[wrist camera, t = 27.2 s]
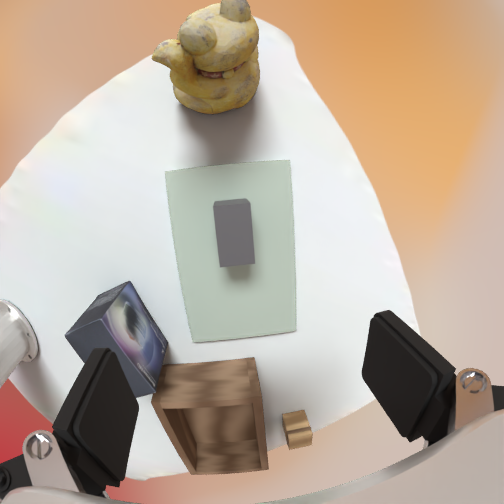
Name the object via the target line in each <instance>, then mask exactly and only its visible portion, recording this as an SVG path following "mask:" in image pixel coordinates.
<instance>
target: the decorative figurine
mask: <svg viewBox="0 0 504 504" xmlns="http://www.w3.org/2000/svg"><path fill="white" fill-rule="evenodd" d="M258 40H259V29H258V26H257V24H256V21H255V19H254V18H253V16H252V15H251V11H250V6H249V4H248V2H247V0H222V1H221V3H218V4H212V5H209V6H208V7H206V8H203V9H200V10H197V11H196V12H194V13H193V14H190V15H189V16H188V17H187V19H186V21H185V22H184V23H183V24H182V25H181V27H180V30H179V32H178V35H177V40H175V39H172V40H171V39H170V40H165V41H163V42H162V43H161V44H159V45H158V47H157V48H156V50H155V51H154V53H153V56H152V60H153V61H156V62H159V63H161V64H163V65H165V66H167V67H169V68H170V69H171V71H170V78H171V81H172V83H173V90H174V94H175V96H176V99H177V100H178V101H179V102H180V103H181V104H183V105H184V106H186V107H188V108H190V109H192V110H195V111H197V112H200V113H205V114H217V113H221V112H225V111H228V110H231V109H234V108H240V107H243V106H244V105H246V104H247V103H248V102H249V101H250V100H251V99H252V97H253V96H254V94H255V92H256V90H257V87H258V84H259V80H260V69H259V63H258V47H257V44H258Z"/></svg>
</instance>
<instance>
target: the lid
mask: <svg viewBox="0 0 504 504" xmlns="http://www.w3.org/2000/svg"><path fill="white" fill-rule="evenodd" d="M165 178H166V187H167V196H168V205H169V213H170V220H171V227H172V234H173V241H174V248H175V254H176V260H177V266H178V272H179V278H180V283H181V288H182V294H183V299H184V304H185V309H186V314H187V318H188V323H189V328H190V332H191V337H192V341H193V342H206V341H218V340H228V339H238V338H247V337H255V336H263V335H271V334H278V333H285V332H291V331H296V277H295V243H294V220H293V200H292V183H291V168H290V160H276V161H259V162H245V163H233V164H223V165H213V166H204V167H196V168H188V169H180V170H173V171H166V172H165Z"/></svg>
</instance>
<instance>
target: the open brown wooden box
mask: <svg viewBox="0 0 504 504" xmlns="http://www.w3.org/2000/svg"><path fill="white" fill-rule="evenodd" d="M151 403H152V406H153V408H154V410H155V412H156V414H157V416H158V418H159V420H160V422H161V424H162V426H163V427H164V429H165V431H166V433H167V435H168V437H169V439H170V440H171V442H172V444H173V446H174V447H175V449H176V451H177V453H178V454H179V456H180V458H181V459H182V461H183V462H184V464H185V466H186V467H187V469H188V470H189V472H190V474H192V475H195V474H197V475H202V474H228V473H242V472H252V471H260V470H267V469H269V468H268V457H267V446H266V436H265V425H264V415H263V404H262V395H261V390H260V384H259V379H258V374H257V369H256V364H255V358H254V357H252V358H244V359H235V360H226V361H215V362H202V363H187V364H165V365H162V368H161V372H160V376H159V380H158V384H157V389H156V393H153V396H152V401H151Z"/></svg>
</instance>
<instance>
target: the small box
mask: <svg viewBox="0 0 504 504" xmlns="http://www.w3.org/2000/svg"><path fill="white" fill-rule="evenodd" d="M65 337H66V339H67V340H68V342H69V343H70V344H71V346H72V347H73V349H74V350H75V351H76V353H77V354H78V355H79V357H80V358H81V359H82V361H83V362H84V363H86V361H87V359H88V357H89V356H90V354H91V352H92V350H93V349H94V348H110V349H111V351H112V352H115V353H116V355H117V358H118V360H119V362H120V365H121V367H122V369H123V372H124V374H125V376H126V379H127V381H128V383H129V385H130V387H131V389H132V391H133V394H134V396H135V398H137V397H141V396H145V395H149V394H153V393H156V389H157V384H158V380H159V376H160V372H161V368H162V363H163V360H164V356H165V352H166V348H167V344H168V342H167V340H166V339H165V337H164V336H163V334H162V333H161V331H160V329H159V328H158V326H157V325H156V323H155V322H154V320H153V319H152V317H151V315H150V314H149V312H148V310H147V309H146V307H145V306H144V304H143V302H142V301H141V299H140V297H139V295H138V294H137V292H136V290H135V288H134V287H133V285H132V283H131V281H128V282H125V283H123V284H121V285H119V286H117V287H115V288H113V289H111V290H108V291H106V292H104V293H102V294H100V295H98V296H97V297H96V299H95V301H94V302H93V303H92V304H91V305H90V306H89V307H88V309H87V310H86V311H85V312H84V313H83V314H82V315H81V317H80V318H79V319H78V320H77V322H76V323H75V324H74V325H73V326H72V327H71V329H70V330H69V331H68V332H67V333H66V334H65Z"/></svg>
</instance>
